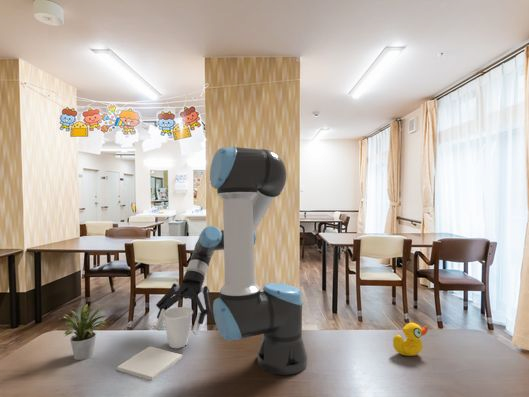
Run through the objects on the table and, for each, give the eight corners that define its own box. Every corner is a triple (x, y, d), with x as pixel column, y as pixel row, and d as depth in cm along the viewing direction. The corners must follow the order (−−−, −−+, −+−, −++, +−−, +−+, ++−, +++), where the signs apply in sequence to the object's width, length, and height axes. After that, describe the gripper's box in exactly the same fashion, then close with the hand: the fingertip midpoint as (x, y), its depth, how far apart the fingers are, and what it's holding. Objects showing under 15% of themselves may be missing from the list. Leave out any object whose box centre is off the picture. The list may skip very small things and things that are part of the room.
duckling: (421, 349, 106) (421, 319, 106) (432, 357, 101) (432, 326, 100) (389, 351, 104) (389, 321, 104) (398, 360, 99) (399, 328, 99)
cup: (185, 353, 103) (185, 319, 102) (157, 350, 105) (157, 316, 104) (198, 339, 112) (197, 308, 112) (171, 336, 114) (171, 306, 114)
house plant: (78, 374, 91) (77, 317, 90) (43, 365, 95) (42, 311, 95) (116, 350, 104) (116, 301, 104) (84, 344, 109) (83, 296, 108)
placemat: (182, 357, 100) (182, 354, 100) (152, 380, 88) (152, 377, 88) (149, 349, 105) (149, 346, 105) (117, 370, 93) (117, 366, 93)
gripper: (228, 281, 121) (213, 339, 107) (169, 277, 127) (147, 331, 113) (223, 271, 116) (207, 330, 102) (161, 267, 121) (137, 322, 107)
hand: (175, 331), depth 107 cm, fingers open, 13 cm apart
